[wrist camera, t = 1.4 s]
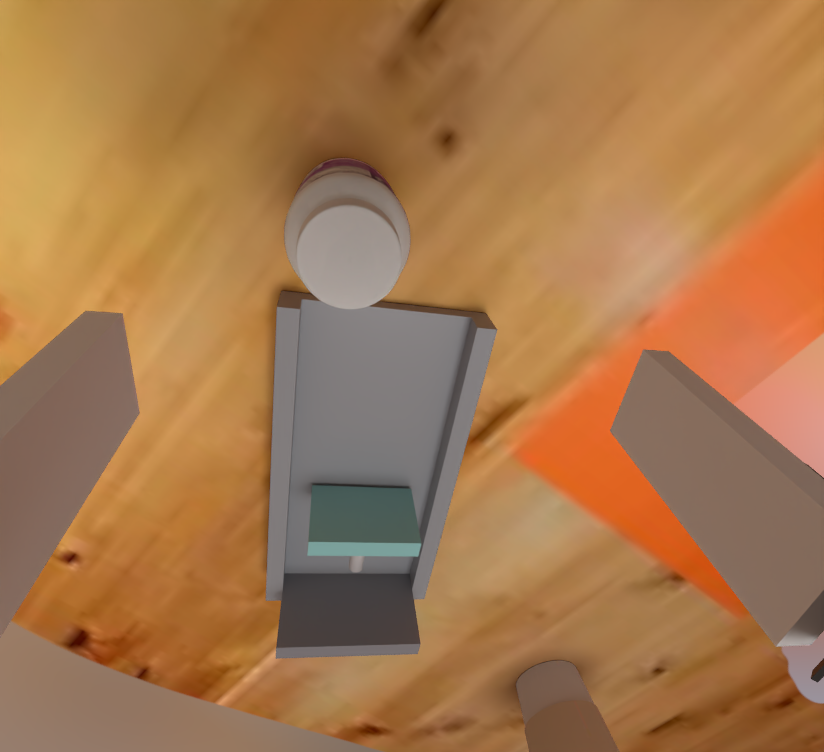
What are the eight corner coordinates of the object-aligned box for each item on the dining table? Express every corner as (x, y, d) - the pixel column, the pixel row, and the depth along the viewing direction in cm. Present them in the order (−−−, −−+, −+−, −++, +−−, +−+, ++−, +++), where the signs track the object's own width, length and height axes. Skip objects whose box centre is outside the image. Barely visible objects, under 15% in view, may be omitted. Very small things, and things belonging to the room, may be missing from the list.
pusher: (312, 485, 34) (308, 541, 30) (411, 488, 35) (421, 543, 31) (307, 538, 36) (303, 598, 32) (400, 539, 38) (408, 597, 34)
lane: (281, 290, 28) (266, 343, 22) (486, 313, 31) (522, 366, 25) (269, 573, 40) (257, 658, 34) (419, 573, 42) (433, 653, 36)
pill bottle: (403, 248, 28) (431, 313, 20) (311, 267, 28) (300, 340, 20) (384, 145, 25) (408, 170, 17) (282, 166, 25) (256, 201, 17)
